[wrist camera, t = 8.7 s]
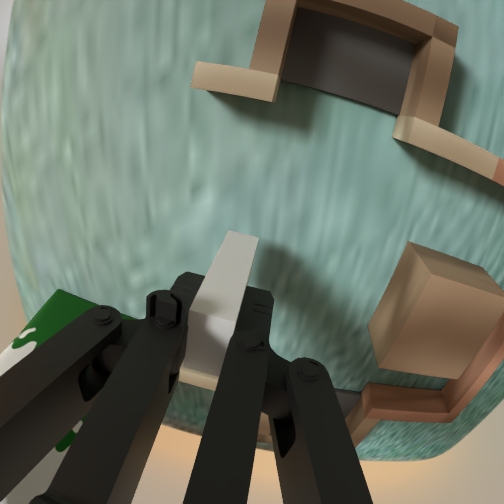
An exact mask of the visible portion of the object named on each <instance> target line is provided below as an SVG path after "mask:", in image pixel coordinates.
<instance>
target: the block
mask: <svg viewBox="0 0 504 504" xmlns="http://www.w3.org/2000/svg"><path fill="white" fill-rule="evenodd" d="M503 313H504V291H503V290H502V289H501V288H500V286H499V285H498V284H497V283H496V282H495V281H494V280H493V279H492V277H491V276H490V275H489V274H488V273H487V272H486V271H485V270H484V269H483V268H482V267H480V266H477V265H474V264H472V263H469V262H466V261H463V260H461V259H458V258H455V257H452V256H450V255H447V254H444V253H441V252H438V251H435V250H433V249H430V248H427V247H424V246H421V245H418V244H415V243H412V242H409V241H408V242H407V245H406V247H405V249H404V252H403V254H402V256H401V258H400V260H399V263H398V265H397V267H396V269H395V271H394V274H393V276H392V278H391V280H390V282H389V284H388V286H387V288H386V290H385V292H384V294H383V296H382V298H381V300H380V302H379V304H378V306H377V308H376V310H375V312H374V314H373V316H372V318H371V320H370V322H369V324H368V325H367V326H368V329H369V333H370V337H371V341H372V345H373V349H374V353H375V357H376V361H377V365H378V368H383V369H389V370H395V371H401V372H407V373H414V374H420V375H427V376H435V377H442V378H450V379H458V378H459V377H460V376H461V374H462V373H463V372H464V370H465V369H466V368H467V366H468V365H469V364H470V362H471V361H472V360H473V358H474V357H475V355H476V354H477V353H478V351H479V350H480V348H481V347H482V345H483V344H484V342H485V341H486V339H487V338H488V336H489V335H490V333H491V332H492V330H493V329H494V327H495V326H496V324H497V322H498V321H499V319H500V318H501V316H502V314H503Z"/></svg>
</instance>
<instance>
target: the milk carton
mask: <svg viewBox="0 0 504 504" xmlns="http://www.w3.org/2000/svg"><path fill="white" fill-rule="evenodd" d="M94 306H99V305H97V304H94V303H92V302H89V301H87V300H84V299H82V298H79V297H77V296H74V295H72V294H69V293H67V292H65V291H62V290H60V289H58V290H57V291H56V292H55V293H54V294H53V295H52V296H51V297H50V299H49V300H48V301H47V302H46V303H45V304H44V305H43V307H42V308H41V309H40V310H39V311H38V312H37V314H36V315H35V316H34V317H33V318H32V320H31V321H30V322H29V323H28V324H27V326H26V327H25V328H24V329H23V330H22V332H21V333H20V334H19V335H18V336H17V337H16V338H15V339H14V340H13V341H12V342H11V344H10V345H9V346H8V347H7V348H6V349H5V350H4V351H3V352H2V354H1V355H0V376H1V375H2V374H4V373H5V372H6V371H7V370H9V369H10V368H11V367H12V366H14V365H15V364H16V363H18V362H19V361H20V360H21V359H23V358H24V357H25V356H27V355H28V354H29V353H30V352H32V351H33V350H34V349H36V348H37V347H38V346H40V345H41V344H42V343H44V342H45V341H46V340H48V339H49V338H50V337H52V336H53V335H54V334H56V333H57V332H58V331H60V330H61V329H62V328H64V327H65V326H66V325H68V324H69V323H70V322H72V321H73V320H75V319H76V318H77V317H79V316H80V315H81V314H83V313H84V312H86V311H87V310H88V309H90V308H92V307H94ZM120 314H121V313H120ZM121 316H122V319H132V320H137V319H134V318H132V317H129V316H126V315H123V314H121ZM88 413H89V412H88ZM88 413H87V414H86V415H85V416H84V417H83V418H82V419H81V421H80V422H79V423H78V424H77V425H76V426H75V427H74V428H73V429H72V430H71V431H70V432H69V433H68V434H67V435H66V436H65V437H64V438H63V439H62V440H61V441H60V442H59V443H58V444H57V445H56V446H55V447H54V448H53V449H52V450H51V451H50V452H49V453H48V454H47V455H46V456H45V457H44V458H43V459H42V460H41V461H40V462H39V463H38V464H37V465H36V466H35V467H34V468H33V469H32V470H31V471H30V473H29V474H28V475H27V476H26V477H25V478H24V479H23V480H22V481H21V482H20V483H19V484H18V485H17V486H16V487H15V488H14V489H13V490H12V491H11V492H10V493H9V494H8V495H7V496H6V497H5V498H4V499H3V500H2V501H1V502H0V504H29V502H30V501H31V500H32V499H33V498H34V497H35V496H37V495H40V494H43V493H45V492H46V491H47V489H48V487H49V486H50V484H51V482H52V480H53V478H54V476H55V474H56V472H57V470H58V468H59V466H60V464H61V462H62V460H63V458H64V457H65V455H66V453H67V451H68V449H69V447H70V445H71V444H72V442H73V440H74V438H75V436H76V434H77V432H78V431H79V429H80V427H81V425H82V423H83V422H84V420H85V418H86V416H87V415H88Z"/></svg>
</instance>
